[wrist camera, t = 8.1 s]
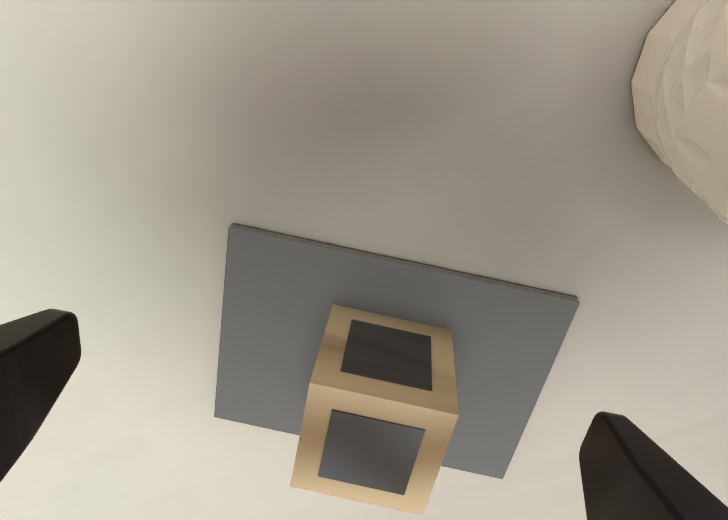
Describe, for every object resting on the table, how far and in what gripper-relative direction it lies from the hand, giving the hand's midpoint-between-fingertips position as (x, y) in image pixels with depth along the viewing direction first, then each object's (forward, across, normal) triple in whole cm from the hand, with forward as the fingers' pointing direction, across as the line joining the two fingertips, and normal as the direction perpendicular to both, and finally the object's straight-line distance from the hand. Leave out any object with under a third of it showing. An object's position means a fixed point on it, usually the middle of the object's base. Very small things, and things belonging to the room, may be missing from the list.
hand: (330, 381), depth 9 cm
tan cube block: (+12, -1, +8) cm, 14 cm away
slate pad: (+12, -1, +8) cm, 15 cm away
